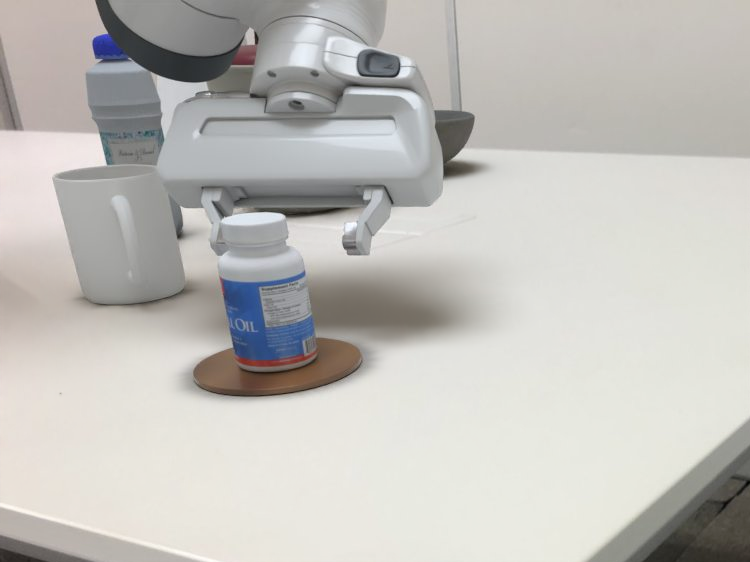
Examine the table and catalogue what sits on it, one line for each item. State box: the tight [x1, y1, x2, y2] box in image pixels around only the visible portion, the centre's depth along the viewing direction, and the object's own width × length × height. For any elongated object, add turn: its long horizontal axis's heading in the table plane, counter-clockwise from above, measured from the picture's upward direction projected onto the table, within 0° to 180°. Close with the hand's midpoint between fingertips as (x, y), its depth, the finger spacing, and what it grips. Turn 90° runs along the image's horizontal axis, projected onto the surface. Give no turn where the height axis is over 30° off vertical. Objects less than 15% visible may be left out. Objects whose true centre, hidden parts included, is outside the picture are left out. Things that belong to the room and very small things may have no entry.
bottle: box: [84, 33, 184, 237], centre depth 104 cm, size 7×7×20 cm
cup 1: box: [51, 164, 186, 305], centre depth 84 cm, size 8×12×10 cm
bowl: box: [434, 109, 476, 165], centre depth 144 cm, size 21×21×8 cm
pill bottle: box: [217, 211, 317, 372], centre depth 67 cm, size 6×5×10 cm
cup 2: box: [156, 75, 208, 140], centre depth 141 cm, size 13×13×14 cm
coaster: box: [192, 336, 362, 397], centre depth 70 cm, size 11×11×1 cm
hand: (289, 251), depth 71 cm, fingers open, 8 cm apart
